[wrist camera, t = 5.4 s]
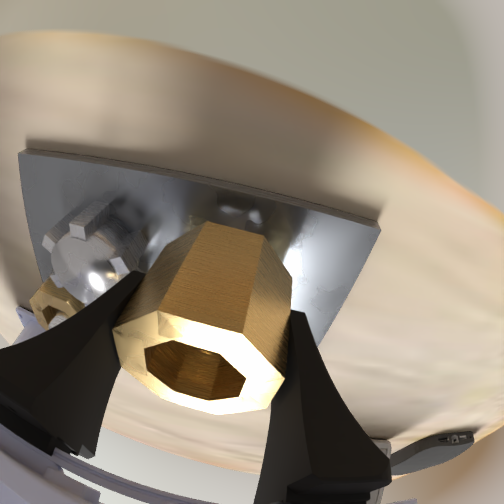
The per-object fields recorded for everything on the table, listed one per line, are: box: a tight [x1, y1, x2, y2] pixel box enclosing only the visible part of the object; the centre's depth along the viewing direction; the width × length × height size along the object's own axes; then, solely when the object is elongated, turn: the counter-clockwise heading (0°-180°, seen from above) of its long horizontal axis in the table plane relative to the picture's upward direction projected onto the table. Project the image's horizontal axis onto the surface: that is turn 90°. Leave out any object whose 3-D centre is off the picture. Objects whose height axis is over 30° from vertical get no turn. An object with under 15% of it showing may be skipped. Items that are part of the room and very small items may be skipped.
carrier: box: [18, 149, 381, 347], centre depth 15 cm, size 14×20×4 cm
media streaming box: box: [390, 432, 474, 475], centre depth 33 cm, size 15×15×3 cm
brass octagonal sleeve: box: [112, 221, 293, 415], centre depth 11 cm, size 6×6×5 cm
